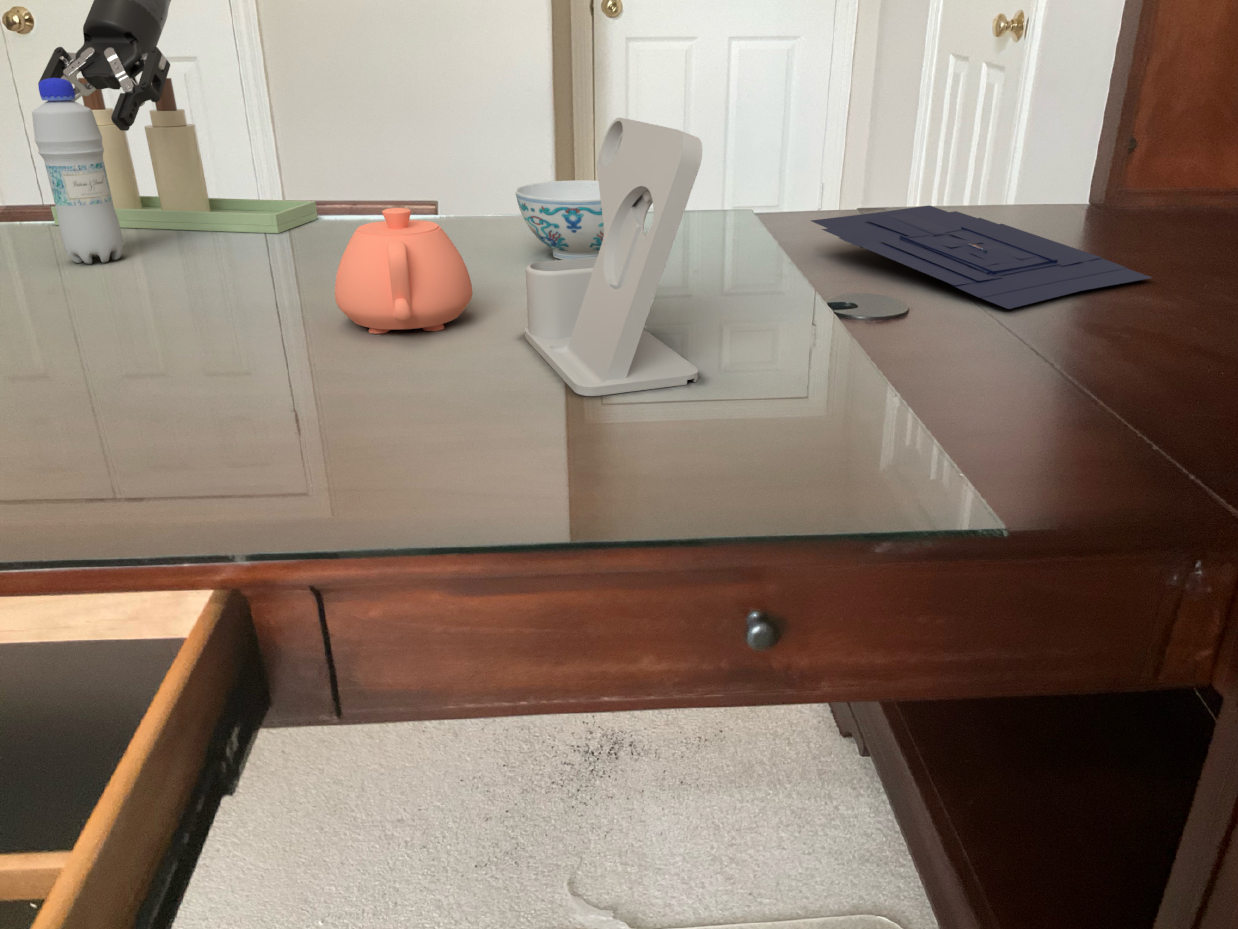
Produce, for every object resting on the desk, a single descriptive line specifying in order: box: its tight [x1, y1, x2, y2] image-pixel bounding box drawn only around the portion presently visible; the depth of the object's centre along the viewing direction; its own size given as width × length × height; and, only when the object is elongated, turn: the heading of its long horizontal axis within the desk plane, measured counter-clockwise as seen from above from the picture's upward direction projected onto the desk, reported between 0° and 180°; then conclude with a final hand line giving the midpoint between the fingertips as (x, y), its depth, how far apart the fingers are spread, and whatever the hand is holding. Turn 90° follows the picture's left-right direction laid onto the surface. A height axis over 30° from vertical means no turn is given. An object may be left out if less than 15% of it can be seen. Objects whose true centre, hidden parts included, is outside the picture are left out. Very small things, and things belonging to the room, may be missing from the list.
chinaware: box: [515, 179, 604, 260], centre depth 110 cm, size 15×15×8 cm
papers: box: [810, 204, 1153, 310], centre depth 105 cm, size 24×30×4 cm
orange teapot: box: [334, 207, 473, 335], centre depth 83 cm, size 12×14×10 cm
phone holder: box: [524, 116, 703, 397], centre depth 73 cm, size 17×10×18 cm, turn 20°
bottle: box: [31, 78, 124, 265], centre depth 106 cm, size 7×7×20 cm
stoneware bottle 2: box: [144, 77, 211, 212], centre depth 128 cm, size 6×6×18 cm
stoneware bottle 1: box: [77, 77, 143, 209], centre depth 130 cm, size 6×6×18 cm
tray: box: [50, 195, 319, 234], centre depth 132 cm, size 34×11×2 cm, turn 79°
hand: (85, 125), depth 107 cm, fingers open, 8 cm apart
